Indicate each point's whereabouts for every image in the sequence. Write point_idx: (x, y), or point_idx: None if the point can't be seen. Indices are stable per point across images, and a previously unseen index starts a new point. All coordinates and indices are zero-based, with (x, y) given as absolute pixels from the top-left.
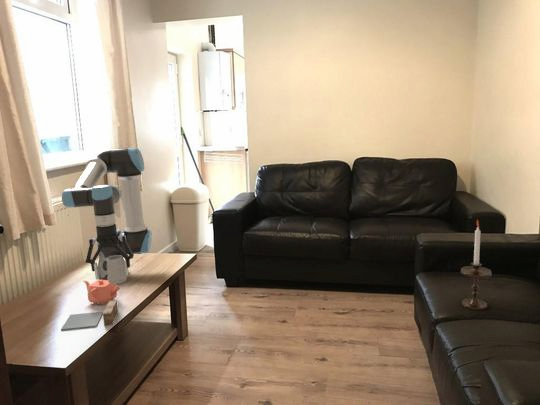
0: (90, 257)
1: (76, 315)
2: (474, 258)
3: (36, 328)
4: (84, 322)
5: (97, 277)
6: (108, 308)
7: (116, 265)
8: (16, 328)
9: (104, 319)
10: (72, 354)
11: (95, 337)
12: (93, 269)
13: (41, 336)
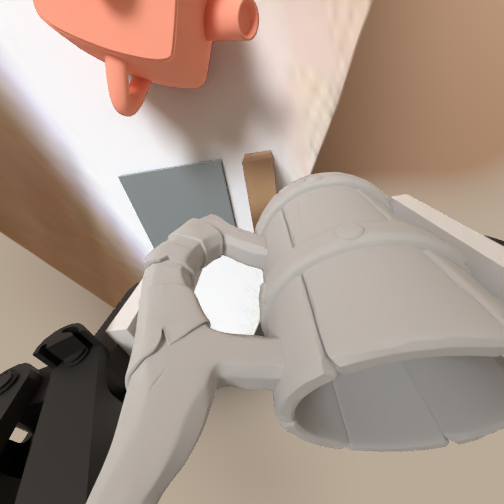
0: (9, 433)
1: (143, 184)
2: None
3: (86, 241)
4: None
5: (199, 275)
6: None
7: (375, 372)
8: (32, 237)
9: None
10: (241, 329)
11: (259, 289)
12: None
13: (135, 276)
